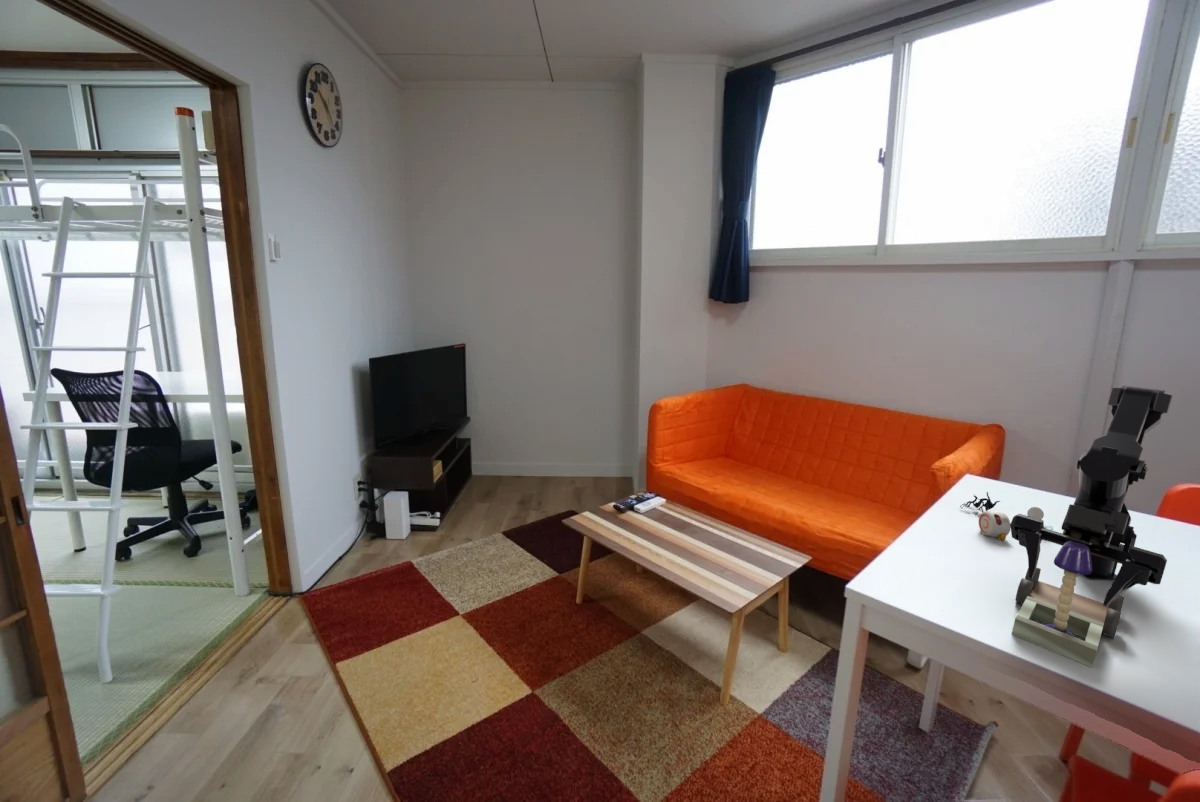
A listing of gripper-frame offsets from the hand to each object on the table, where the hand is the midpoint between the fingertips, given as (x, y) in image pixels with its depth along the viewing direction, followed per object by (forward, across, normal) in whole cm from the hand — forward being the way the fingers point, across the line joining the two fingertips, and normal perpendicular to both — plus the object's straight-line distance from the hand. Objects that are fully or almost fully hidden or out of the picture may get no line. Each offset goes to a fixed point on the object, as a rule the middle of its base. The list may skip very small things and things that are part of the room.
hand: (1066, 591), depth 83 cm
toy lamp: (+5, 0, +8) cm, 9 cm away
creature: (-28, -25, +42) cm, 56 cm away
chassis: (+1, 0, +12) cm, 12 cm away
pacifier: (-26, -13, +40) cm, 49 cm away
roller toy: (-19, -18, +33) cm, 42 cm away
